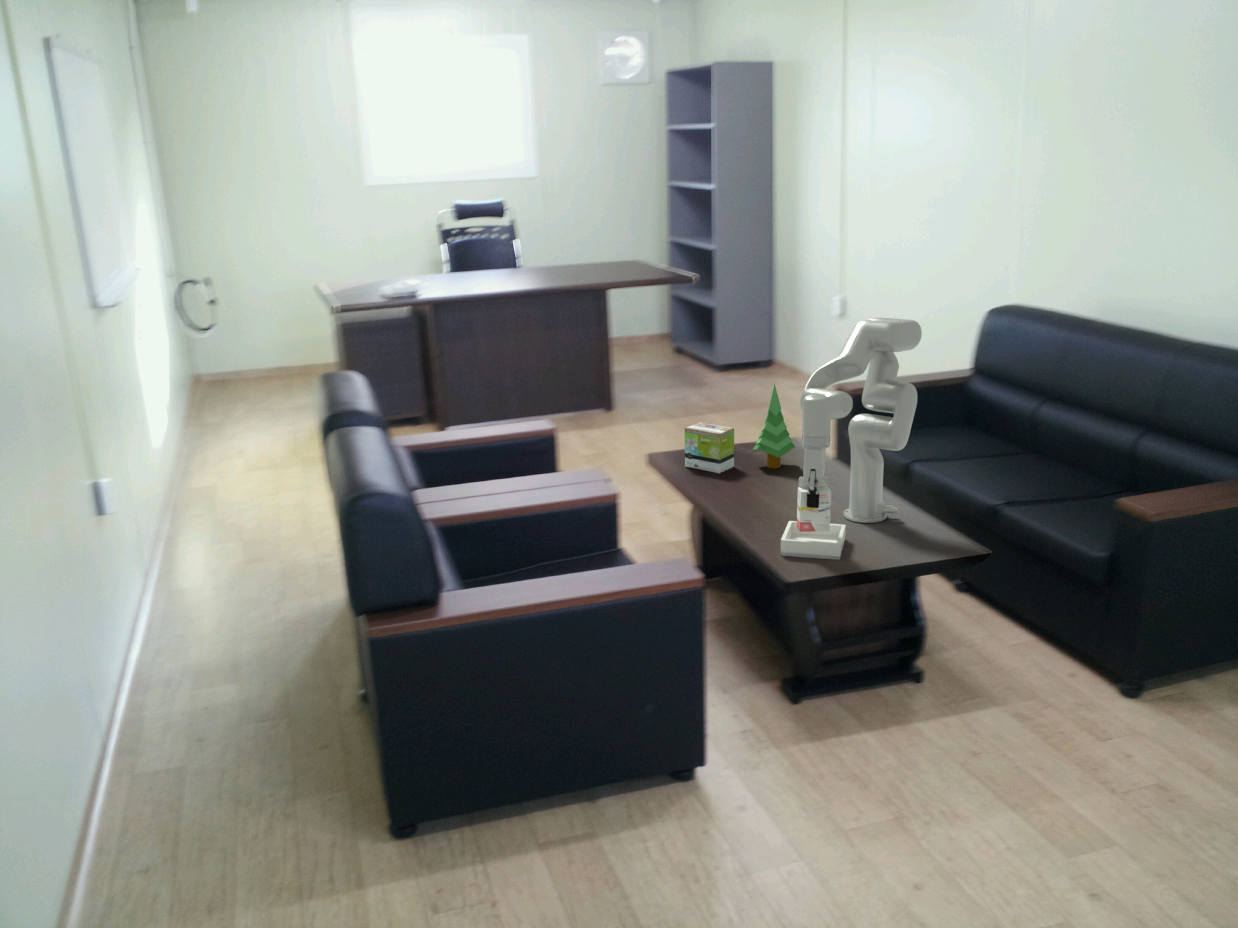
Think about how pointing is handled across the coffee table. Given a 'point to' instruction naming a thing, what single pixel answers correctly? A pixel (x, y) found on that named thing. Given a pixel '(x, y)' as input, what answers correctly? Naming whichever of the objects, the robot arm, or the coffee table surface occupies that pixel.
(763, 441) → the decorative tree
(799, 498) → the ink cartridge box
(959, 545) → the coffee table surface
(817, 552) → the box
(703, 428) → the tea box
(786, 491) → the coffee table surface
